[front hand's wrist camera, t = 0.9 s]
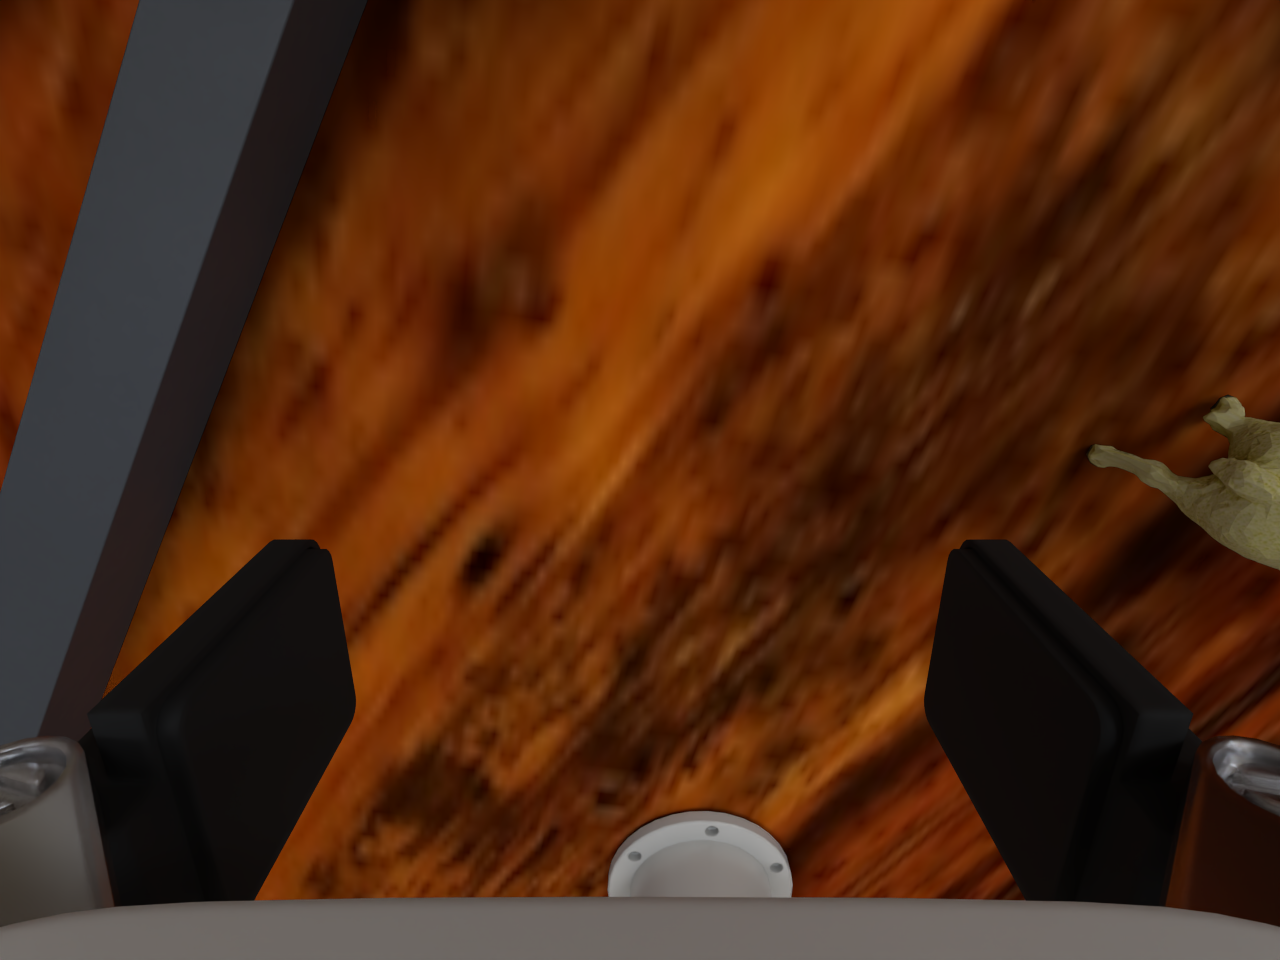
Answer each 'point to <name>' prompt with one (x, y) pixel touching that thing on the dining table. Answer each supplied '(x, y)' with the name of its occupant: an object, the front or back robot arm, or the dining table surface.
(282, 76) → the post
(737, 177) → the dining table surface
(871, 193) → the dining table surface
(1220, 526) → the toy
